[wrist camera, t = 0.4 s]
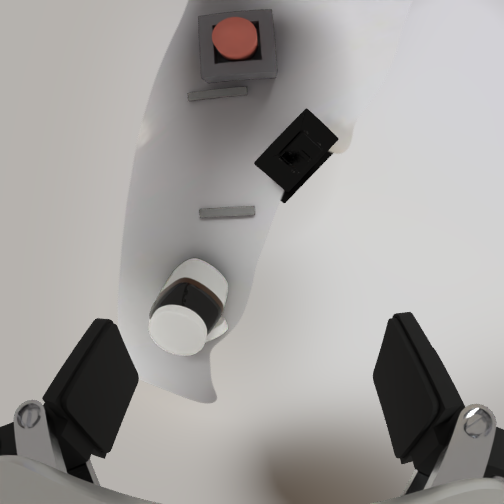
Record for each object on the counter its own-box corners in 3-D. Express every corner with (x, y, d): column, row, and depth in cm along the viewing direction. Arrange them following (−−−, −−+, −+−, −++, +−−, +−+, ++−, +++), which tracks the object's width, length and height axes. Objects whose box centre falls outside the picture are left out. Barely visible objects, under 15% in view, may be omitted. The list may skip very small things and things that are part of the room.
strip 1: (188, 93, 30) (187, 93, 30) (246, 87, 30) (246, 86, 29) (189, 101, 31) (188, 100, 30) (247, 94, 30) (246, 94, 30)
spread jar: (196, 243, 39) (172, 289, 28) (257, 292, 42) (254, 348, 31) (152, 294, 43) (123, 343, 32) (207, 335, 46) (194, 390, 35)
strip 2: (200, 209, 37) (199, 210, 36) (254, 205, 36) (254, 207, 35) (201, 216, 37) (200, 217, 36) (254, 213, 36) (254, 214, 36)
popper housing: (205, 26, 26) (198, 16, 23) (271, 21, 26) (271, 9, 22) (208, 83, 30) (201, 78, 26) (275, 77, 29) (277, 72, 25)
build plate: (284, 203, 36) (286, 214, 32) (240, 165, 35) (236, 171, 30) (350, 134, 32) (362, 136, 28) (308, 93, 30) (313, 89, 26)
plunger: (217, 30, 25) (210, 19, 21) (256, 27, 24) (255, 15, 21) (219, 63, 26) (212, 56, 23) (259, 60, 26) (258, 51, 23)
